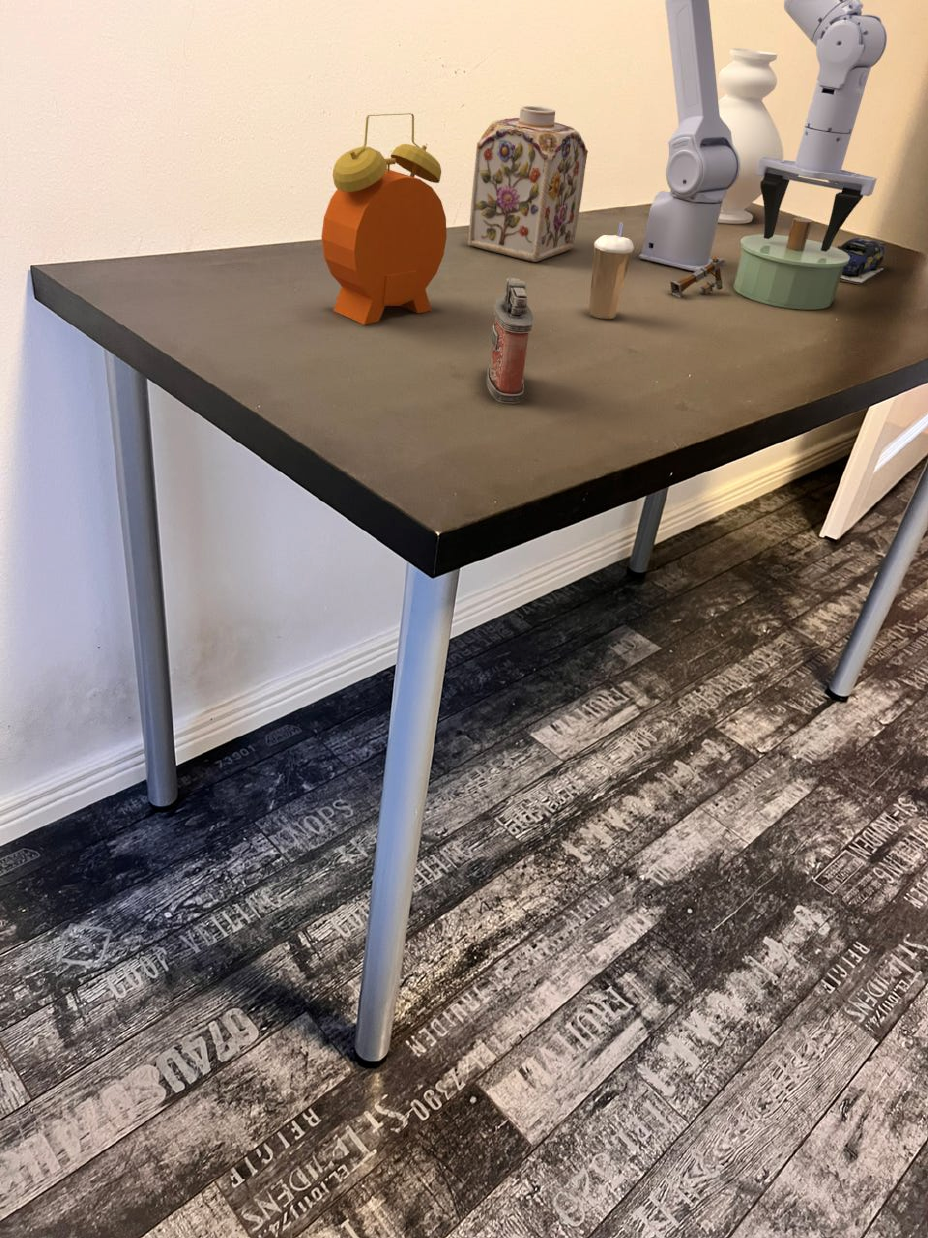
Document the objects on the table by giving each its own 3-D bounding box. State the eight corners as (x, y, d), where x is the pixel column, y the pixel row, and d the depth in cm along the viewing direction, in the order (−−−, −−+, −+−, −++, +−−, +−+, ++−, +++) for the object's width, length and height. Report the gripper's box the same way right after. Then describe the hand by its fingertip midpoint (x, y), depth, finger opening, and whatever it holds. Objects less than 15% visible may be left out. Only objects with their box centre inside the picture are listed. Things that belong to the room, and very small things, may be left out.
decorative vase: (666, 218, 162) (701, 48, 147) (665, 198, 176) (696, 41, 162) (772, 232, 160) (817, 62, 146) (762, 210, 175) (802, 53, 160)
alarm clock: (407, 294, 114) (417, 107, 103) (442, 308, 111) (457, 116, 99) (318, 311, 106) (318, 110, 94) (353, 327, 103) (358, 121, 91)
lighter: (483, 370, 96) (493, 268, 90) (516, 372, 96) (528, 271, 90) (491, 402, 89) (503, 294, 83) (527, 404, 90) (541, 297, 84)
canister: (719, 292, 127) (730, 249, 124) (750, 273, 137) (761, 233, 134) (817, 316, 122) (830, 272, 119) (842, 295, 132) (855, 254, 128)
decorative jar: (575, 250, 139) (596, 111, 128) (537, 264, 130) (556, 117, 120) (505, 232, 143) (520, 98, 133) (464, 245, 135) (476, 102, 125)
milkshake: (625, 311, 116) (641, 225, 111) (616, 323, 112) (632, 235, 106) (589, 304, 117) (603, 219, 112) (579, 316, 113) (593, 228, 107)
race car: (858, 285, 137) (869, 253, 134) (813, 274, 140) (822, 242, 137) (885, 267, 147) (895, 237, 145) (842, 257, 150) (851, 227, 147)
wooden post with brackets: (731, 286, 126) (728, 255, 123) (682, 314, 125) (678, 283, 122) (722, 282, 128) (719, 251, 125) (674, 310, 127) (669, 279, 123)
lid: (724, 254, 124) (733, 216, 122) (757, 236, 134) (766, 201, 132) (832, 279, 119) (844, 240, 116) (858, 259, 129) (869, 222, 126)
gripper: (761, 121, 118) (734, 236, 126) (880, 142, 112) (843, 260, 120) (778, 117, 123) (750, 228, 131) (892, 137, 117) (856, 251, 125)
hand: (796, 243), depth 126 cm, fingers open, 7 cm apart
